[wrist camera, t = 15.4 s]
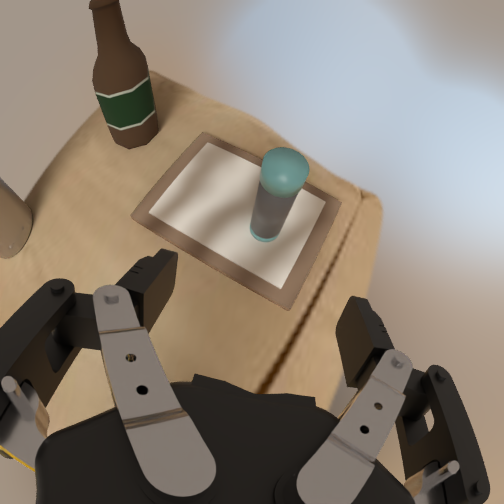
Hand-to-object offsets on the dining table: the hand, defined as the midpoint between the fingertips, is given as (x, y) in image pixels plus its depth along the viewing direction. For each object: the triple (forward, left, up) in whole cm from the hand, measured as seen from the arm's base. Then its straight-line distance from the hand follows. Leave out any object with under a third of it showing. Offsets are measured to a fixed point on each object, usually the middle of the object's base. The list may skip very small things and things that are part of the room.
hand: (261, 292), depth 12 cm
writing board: (-7, +12, -19) cm, 23 cm away
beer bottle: (-28, +16, -19) cm, 38 cm away
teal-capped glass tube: (-3, +11, -17) cm, 21 cm away
